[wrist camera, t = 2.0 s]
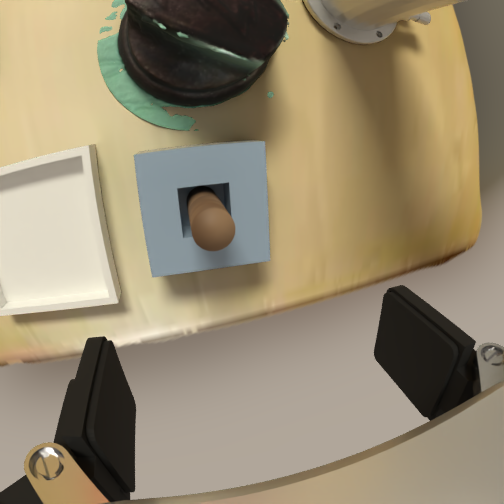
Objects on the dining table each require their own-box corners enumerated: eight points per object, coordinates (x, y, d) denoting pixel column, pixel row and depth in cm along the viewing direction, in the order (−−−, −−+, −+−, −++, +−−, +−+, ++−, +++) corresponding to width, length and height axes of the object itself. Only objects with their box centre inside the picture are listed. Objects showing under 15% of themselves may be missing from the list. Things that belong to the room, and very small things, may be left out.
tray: (95, 144, 27) (88, 145, 25) (121, 292, 33) (118, 303, 31) (-28, 176, 24) (-39, 180, 22) (6, 305, 30) (-2, 316, 28)
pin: (215, 184, 31) (233, 206, 22) (218, 214, 32) (236, 248, 23) (184, 187, 30) (189, 211, 21) (188, 217, 31) (194, 254, 22)
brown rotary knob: (318, 5, 27) (360, -25, 19) (249, 157, 32) (276, 166, 23) (154, -57, 20) (152, -104, 12) (69, 96, 25) (33, 85, 17)
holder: (251, 139, 31) (264, 141, 26) (257, 243, 35) (270, 260, 31) (140, 151, 29) (133, 154, 24) (154, 257, 33) (152, 277, 28)
